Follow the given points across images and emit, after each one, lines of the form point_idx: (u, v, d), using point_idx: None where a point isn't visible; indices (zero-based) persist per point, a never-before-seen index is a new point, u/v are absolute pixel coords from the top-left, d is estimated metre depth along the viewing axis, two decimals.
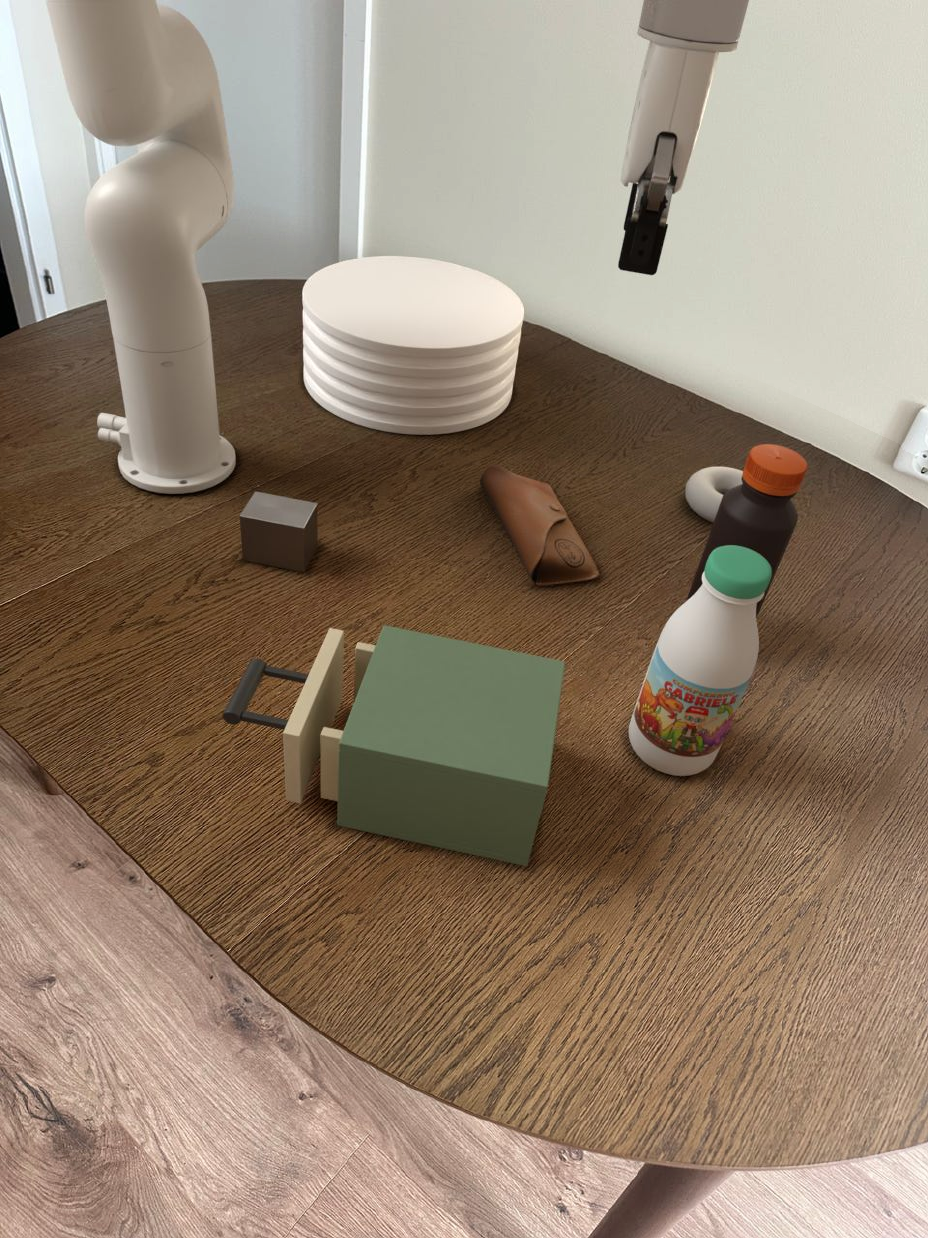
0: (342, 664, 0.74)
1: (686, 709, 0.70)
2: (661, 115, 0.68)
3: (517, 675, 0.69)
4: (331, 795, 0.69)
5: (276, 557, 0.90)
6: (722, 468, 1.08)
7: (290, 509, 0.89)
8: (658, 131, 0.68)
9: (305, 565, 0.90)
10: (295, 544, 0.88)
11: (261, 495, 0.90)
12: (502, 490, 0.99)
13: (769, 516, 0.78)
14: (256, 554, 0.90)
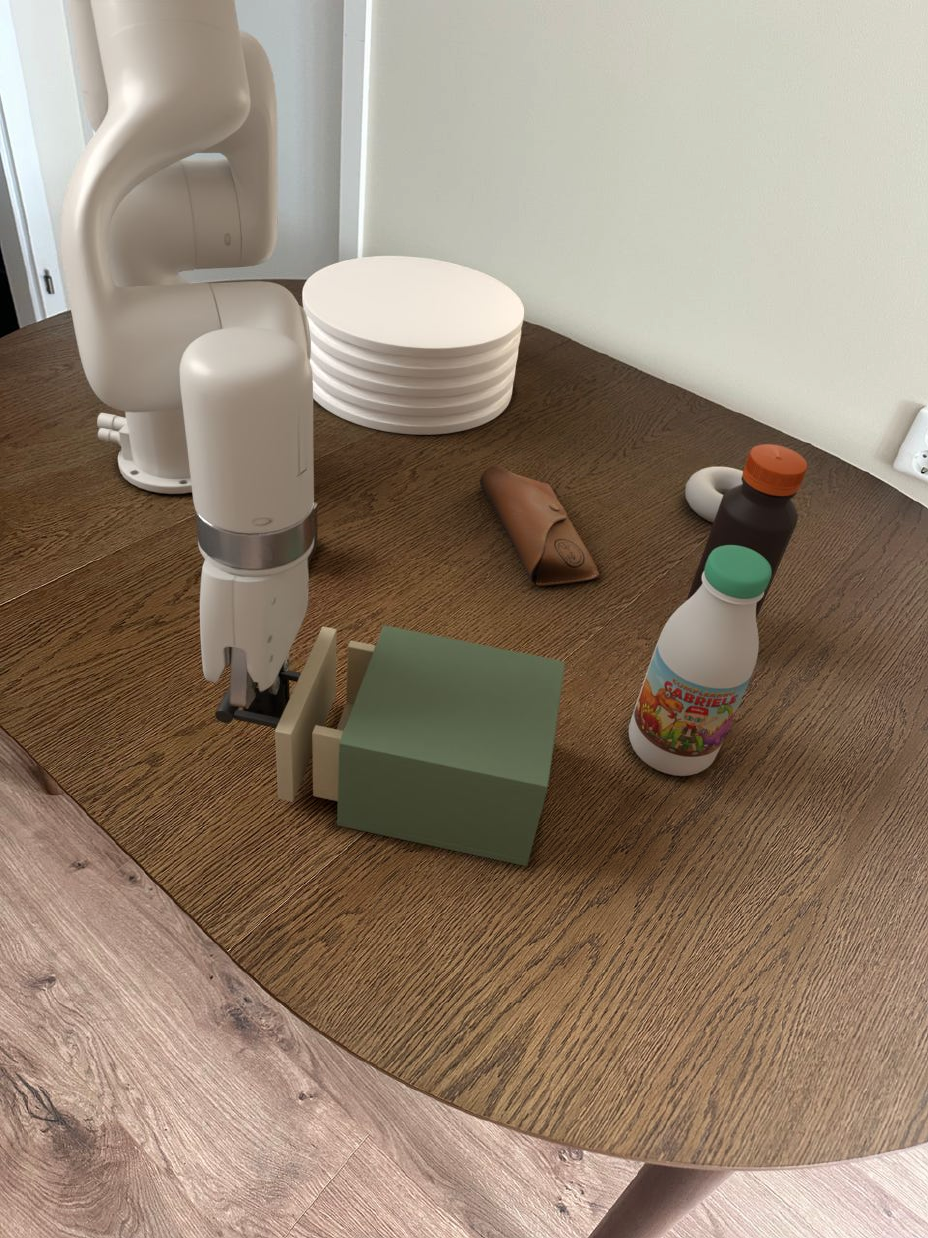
0: (335, 663, 0.74)
1: (686, 709, 0.70)
2: (222, 634, 0.59)
3: (517, 675, 0.69)
4: (323, 793, 0.69)
5: None
6: (722, 468, 1.08)
7: None
8: (223, 646, 0.60)
9: None
10: None
11: None
12: (502, 490, 0.99)
13: (769, 516, 0.78)
14: None
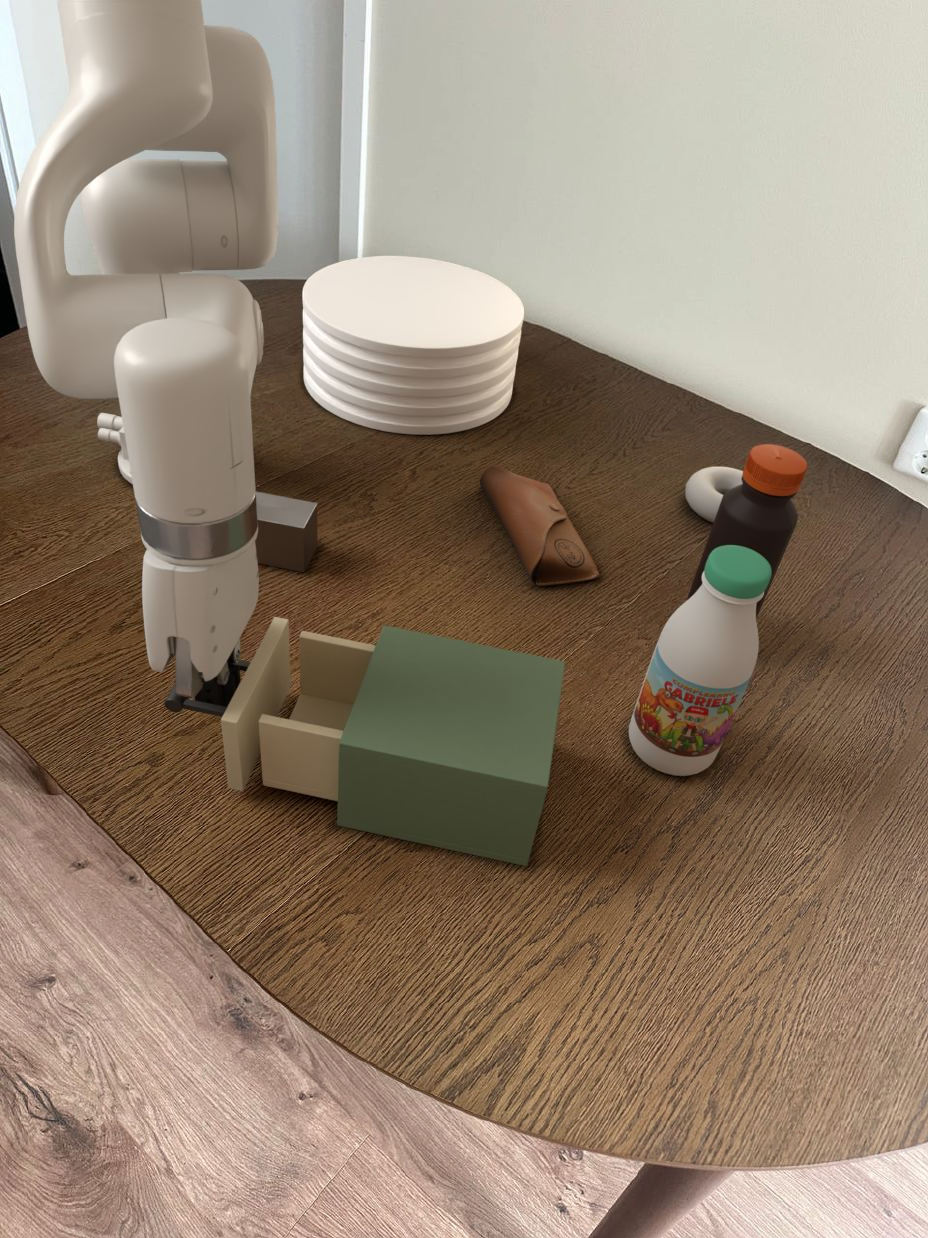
0: (288, 653, 0.75)
1: (686, 709, 0.70)
2: (164, 623, 0.60)
3: (517, 675, 0.69)
4: (273, 783, 0.69)
5: (276, 557, 0.90)
6: (722, 468, 1.08)
7: (290, 509, 0.89)
8: (166, 636, 0.60)
9: (305, 565, 0.90)
10: (295, 544, 0.88)
11: (261, 495, 0.90)
12: (502, 490, 0.99)
13: (769, 516, 0.78)
14: None
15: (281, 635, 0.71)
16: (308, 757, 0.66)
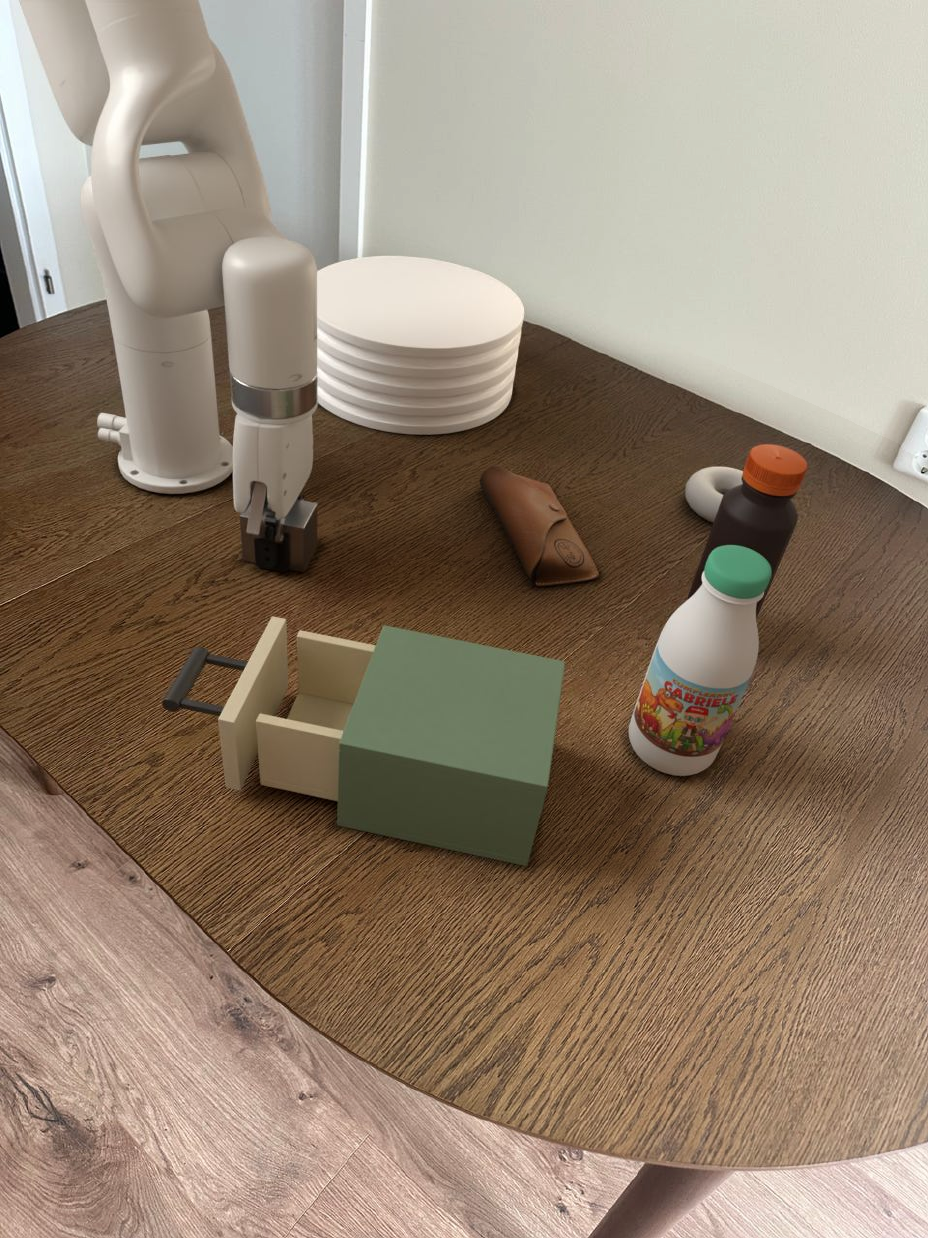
0: (286, 653, 0.75)
1: (686, 709, 0.70)
2: (249, 470, 0.80)
3: (517, 675, 0.69)
4: (270, 782, 0.69)
5: None
6: (722, 468, 1.08)
7: (290, 509, 0.89)
8: (250, 480, 0.81)
9: (305, 565, 0.90)
10: (295, 544, 0.88)
11: None
12: (502, 490, 0.99)
13: (769, 516, 0.78)
14: None
15: (279, 635, 0.71)
16: (306, 756, 0.66)
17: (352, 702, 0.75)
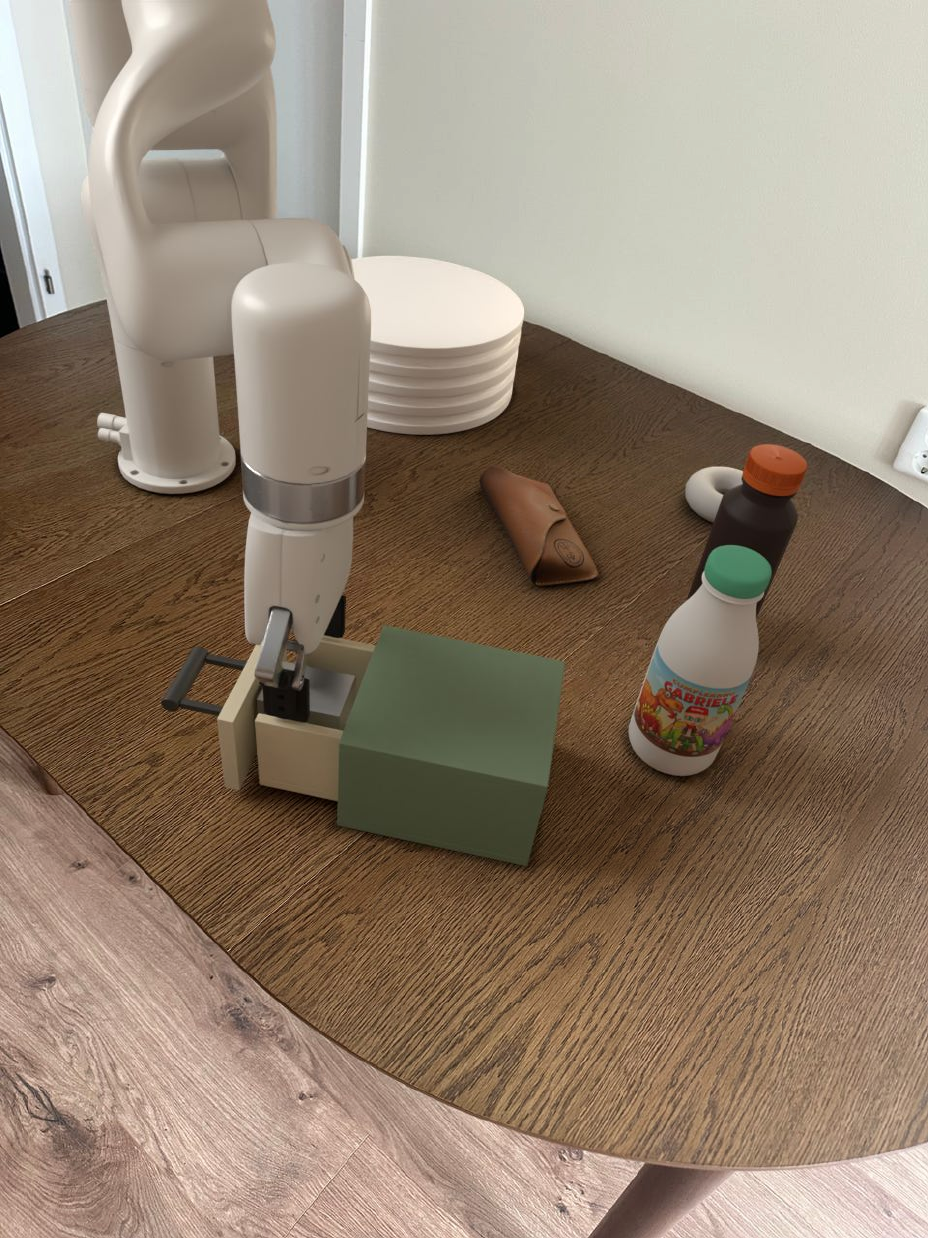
0: (285, 652, 0.75)
1: (686, 709, 0.70)
2: (268, 592, 0.56)
3: (517, 675, 0.69)
4: (270, 782, 0.69)
5: None
6: (722, 468, 1.08)
7: (322, 686, 0.69)
8: (268, 605, 0.57)
9: None
10: None
11: (284, 666, 0.70)
12: (502, 490, 0.99)
13: (769, 516, 0.78)
14: None
15: None
16: (305, 756, 0.66)
17: None
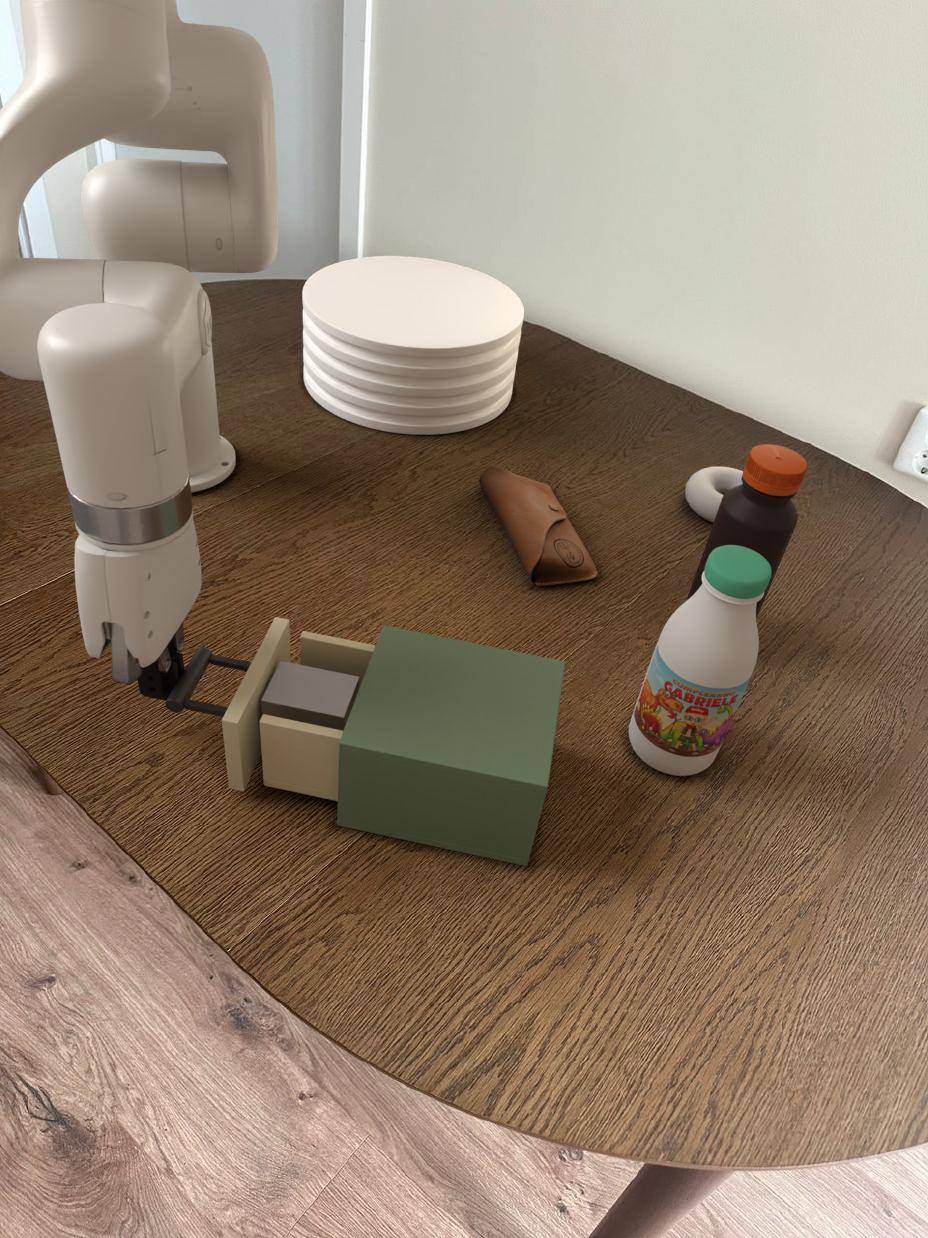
0: (289, 653, 0.75)
1: (686, 709, 0.70)
2: (97, 609, 0.60)
3: (517, 675, 0.69)
4: (274, 783, 0.69)
5: None
6: (722, 468, 1.08)
7: (326, 687, 0.69)
8: (100, 621, 0.61)
9: None
10: None
11: (288, 666, 0.70)
12: (502, 490, 0.99)
13: (769, 516, 0.78)
14: None
15: (282, 635, 0.71)
16: (309, 757, 0.66)
17: None
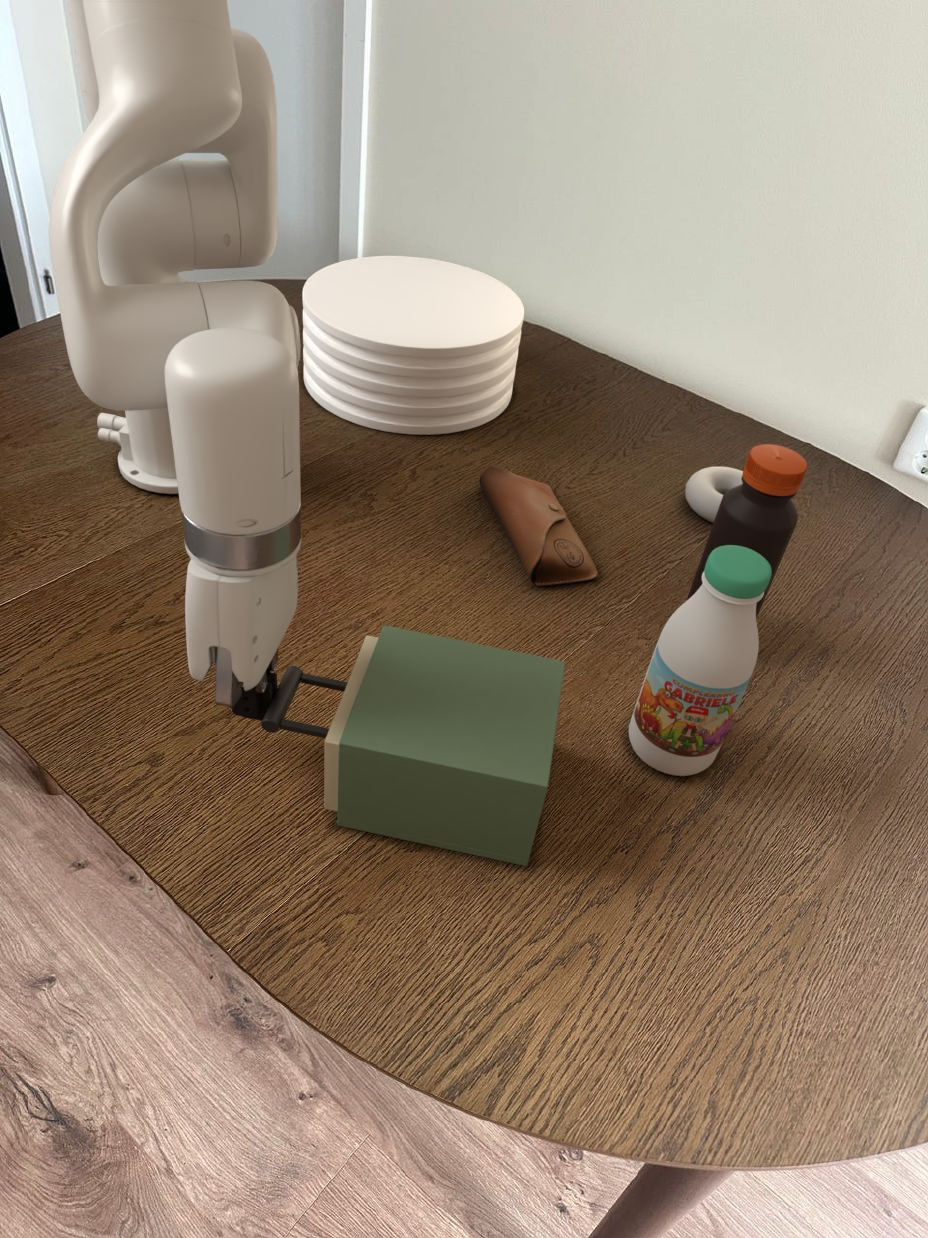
0: None
1: (686, 709, 0.70)
2: (207, 633, 0.59)
3: (517, 675, 0.69)
4: None
5: None
6: (722, 468, 1.08)
7: None
8: (208, 645, 0.60)
9: None
10: None
11: None
12: (502, 490, 0.99)
13: (769, 516, 0.78)
14: None
15: None
16: None
17: None
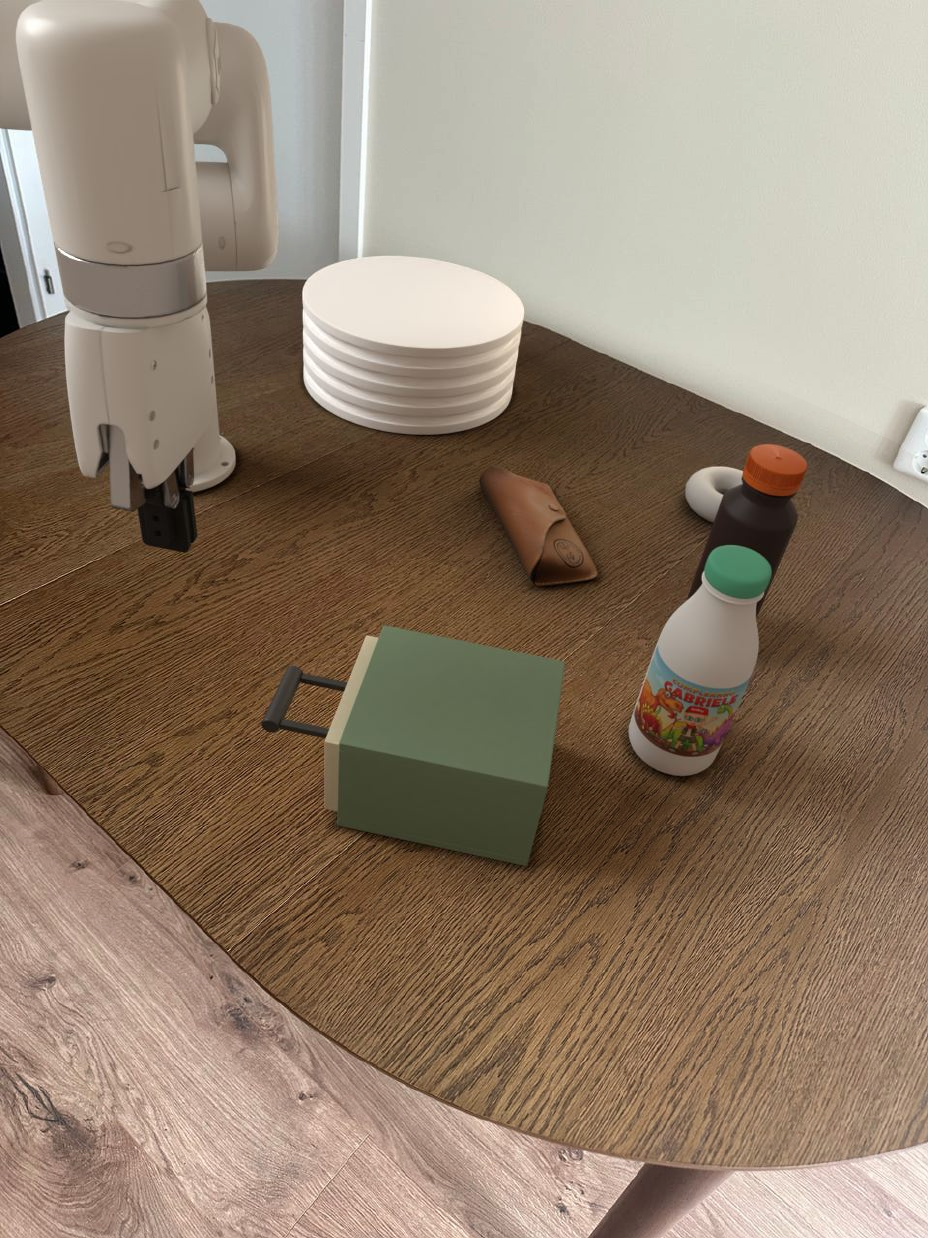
0: None
1: (686, 709, 0.70)
2: (93, 405, 0.50)
3: (517, 675, 0.69)
4: None
5: None
6: (722, 468, 1.08)
7: None
8: (96, 423, 0.50)
9: None
10: None
11: None
12: (501, 490, 0.99)
13: (769, 516, 0.78)
14: None
15: None
16: None
17: None
